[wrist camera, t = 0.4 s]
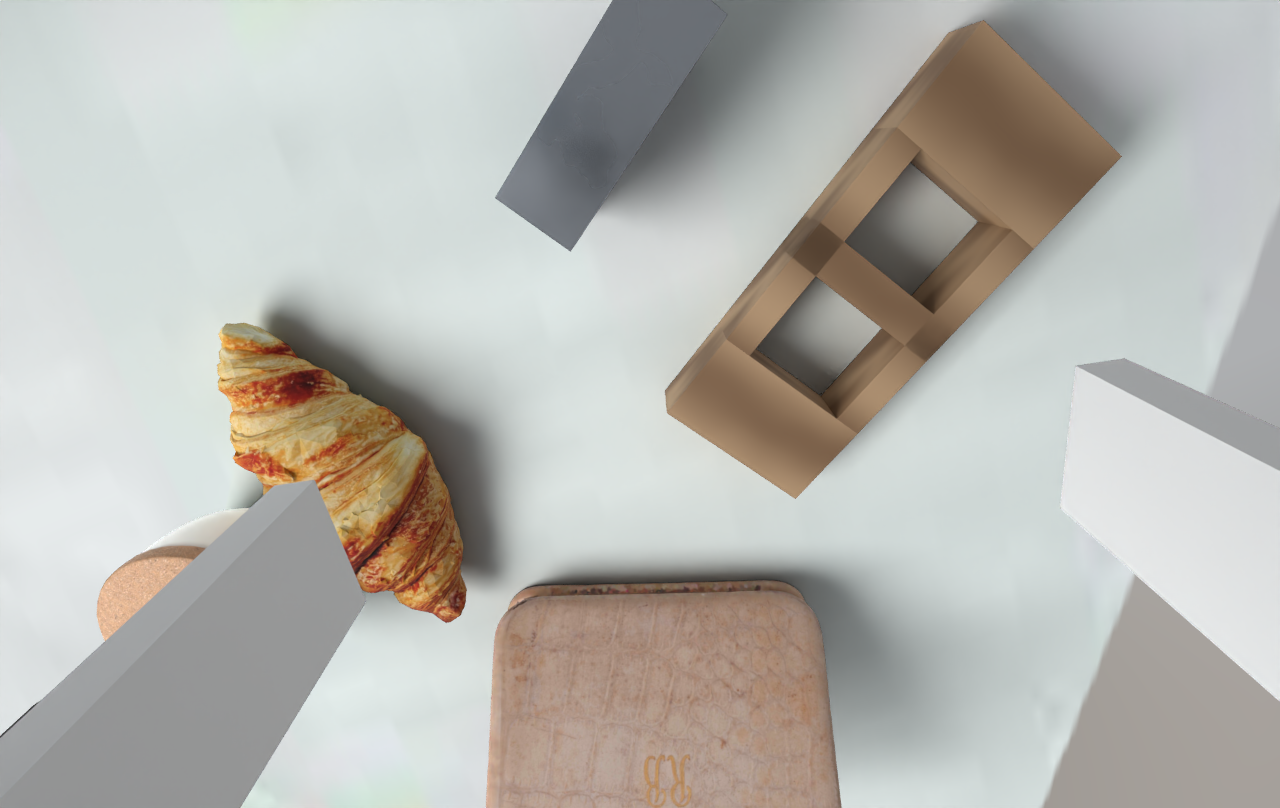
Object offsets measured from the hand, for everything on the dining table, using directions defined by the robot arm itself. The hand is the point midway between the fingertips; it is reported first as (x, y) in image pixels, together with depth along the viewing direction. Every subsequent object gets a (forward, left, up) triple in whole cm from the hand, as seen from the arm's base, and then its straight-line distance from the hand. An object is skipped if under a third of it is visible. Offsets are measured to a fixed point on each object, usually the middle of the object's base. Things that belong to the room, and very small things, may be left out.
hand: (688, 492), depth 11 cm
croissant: (-7, -20, -24) cm, 32 cm away
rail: (+9, +5, -24) cm, 26 cm away
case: (+18, -25, -24) cm, 39 cm away
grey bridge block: (-6, +4, -24) cm, 25 cm away
